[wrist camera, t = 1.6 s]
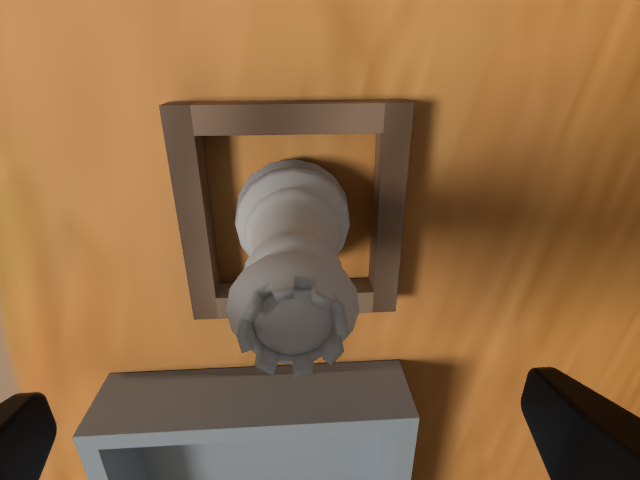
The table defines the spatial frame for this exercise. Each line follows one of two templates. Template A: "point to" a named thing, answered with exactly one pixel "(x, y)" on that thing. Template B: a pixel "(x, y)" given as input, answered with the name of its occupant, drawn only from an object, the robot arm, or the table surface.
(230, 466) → the tray
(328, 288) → the rook chess piece
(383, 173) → the socket collar
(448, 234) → the table surface
